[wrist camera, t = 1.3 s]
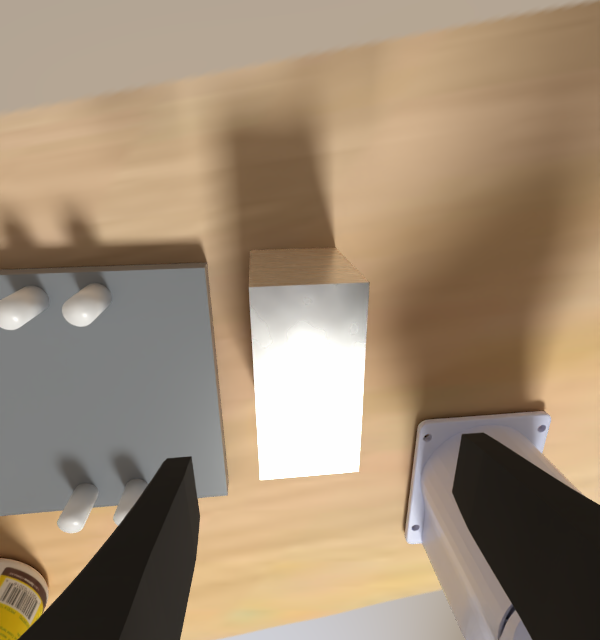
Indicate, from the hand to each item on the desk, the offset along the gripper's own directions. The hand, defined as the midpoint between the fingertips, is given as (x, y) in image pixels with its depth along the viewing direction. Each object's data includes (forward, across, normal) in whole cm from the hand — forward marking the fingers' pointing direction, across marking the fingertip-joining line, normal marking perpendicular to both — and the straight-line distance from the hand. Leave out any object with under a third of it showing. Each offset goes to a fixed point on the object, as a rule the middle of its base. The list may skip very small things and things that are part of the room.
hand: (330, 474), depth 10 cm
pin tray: (+10, +10, +3) cm, 15 cm away
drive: (+10, 0, 0) cm, 10 cm away
